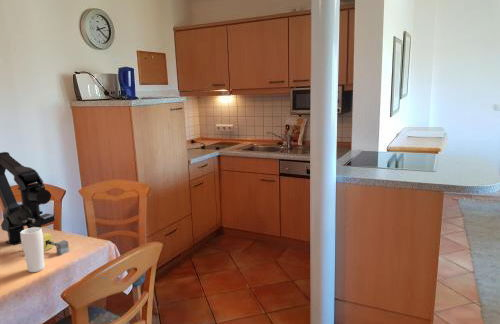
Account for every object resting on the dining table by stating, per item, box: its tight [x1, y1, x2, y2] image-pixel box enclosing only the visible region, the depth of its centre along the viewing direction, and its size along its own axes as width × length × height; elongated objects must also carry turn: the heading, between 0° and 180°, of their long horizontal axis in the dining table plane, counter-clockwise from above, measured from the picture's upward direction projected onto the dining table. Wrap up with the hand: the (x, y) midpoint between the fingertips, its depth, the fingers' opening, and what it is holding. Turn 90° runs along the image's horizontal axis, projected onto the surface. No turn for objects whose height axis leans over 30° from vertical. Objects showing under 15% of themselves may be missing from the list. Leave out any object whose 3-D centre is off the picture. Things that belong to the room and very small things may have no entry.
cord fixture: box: [45, 239, 70, 256], centre depth 148 cm, size 18×6×4 cm, turn 68°
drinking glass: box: [20, 227, 45, 273], centre depth 131 cm, size 7×7×15 cm
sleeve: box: [42, 232, 54, 252], centre depth 149 cm, size 4×4×6 cm
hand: (35, 237), depth 150 cm, fingers closed
